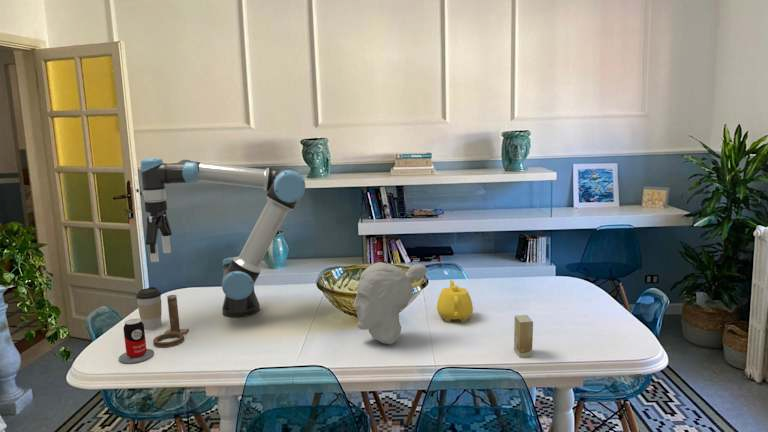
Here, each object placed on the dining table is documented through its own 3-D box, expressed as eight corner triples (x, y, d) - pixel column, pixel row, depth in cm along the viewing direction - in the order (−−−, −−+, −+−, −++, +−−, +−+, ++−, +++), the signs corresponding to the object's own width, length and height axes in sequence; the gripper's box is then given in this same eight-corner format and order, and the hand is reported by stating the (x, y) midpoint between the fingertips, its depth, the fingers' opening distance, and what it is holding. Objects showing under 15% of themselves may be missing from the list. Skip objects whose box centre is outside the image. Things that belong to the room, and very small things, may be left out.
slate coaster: (158, 349, 196) (158, 347, 196) (147, 363, 185) (147, 361, 185) (126, 351, 195) (126, 349, 195) (113, 364, 185) (113, 363, 184)
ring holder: (191, 330, 213) (188, 293, 210) (179, 346, 198) (175, 306, 195) (164, 331, 212) (160, 294, 210) (149, 348, 197) (145, 308, 195)
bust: (352, 335, 203) (349, 260, 199) (422, 328, 208) (421, 255, 203) (357, 351, 189) (353, 271, 184) (432, 344, 193) (431, 265, 188)
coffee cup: (155, 331, 213) (151, 293, 211) (134, 330, 215) (130, 292, 212) (169, 322, 222) (165, 286, 219) (148, 321, 224) (144, 285, 221)
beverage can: (123, 358, 187) (119, 324, 185) (132, 351, 194) (128, 318, 192) (141, 358, 187) (137, 324, 185) (150, 350, 193) (146, 317, 191)
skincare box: (513, 350, 186) (513, 314, 184) (526, 349, 187) (526, 314, 185) (519, 358, 180) (520, 321, 178) (532, 357, 180) (533, 321, 178)
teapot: (438, 326, 210) (438, 293, 207) (435, 308, 229) (434, 278, 227) (475, 325, 209) (475, 292, 207) (469, 307, 229) (468, 277, 227)
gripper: (156, 196, 217) (162, 249, 221) (131, 206, 193) (138, 266, 196) (176, 195, 218) (181, 248, 221) (153, 205, 193) (160, 265, 197)
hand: (161, 257), depth 209 cm, fingers open, 13 cm apart
